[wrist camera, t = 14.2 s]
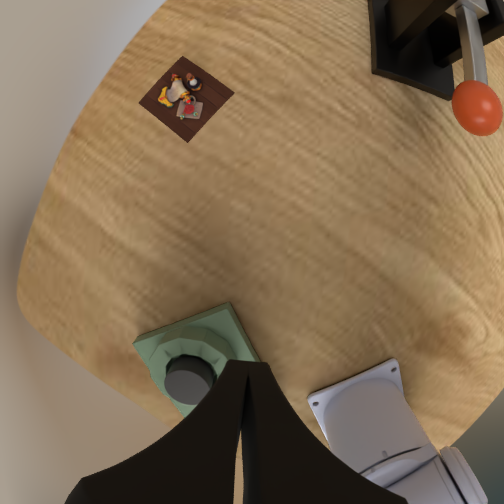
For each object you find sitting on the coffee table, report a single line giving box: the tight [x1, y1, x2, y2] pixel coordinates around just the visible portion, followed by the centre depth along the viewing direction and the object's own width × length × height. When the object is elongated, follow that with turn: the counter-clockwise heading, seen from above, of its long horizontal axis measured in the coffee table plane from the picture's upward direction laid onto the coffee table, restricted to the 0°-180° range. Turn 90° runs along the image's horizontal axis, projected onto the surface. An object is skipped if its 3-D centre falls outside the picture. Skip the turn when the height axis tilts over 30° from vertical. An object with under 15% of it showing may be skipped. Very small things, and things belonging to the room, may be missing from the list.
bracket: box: [368, 0, 504, 101], centre depth 10 cm, size 9×7×10 cm
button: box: [164, 356, 214, 405], centre depth 17 cm, size 3×3×2 cm
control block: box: [132, 302, 260, 418], centre depth 19 cm, size 10×8×3 cm
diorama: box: [139, 56, 234, 143], centre depth 16 cm, size 3×4×2 cm
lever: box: [445, 0, 503, 136], centre depth 8 cm, size 11×3×3 cm, turn 174°
